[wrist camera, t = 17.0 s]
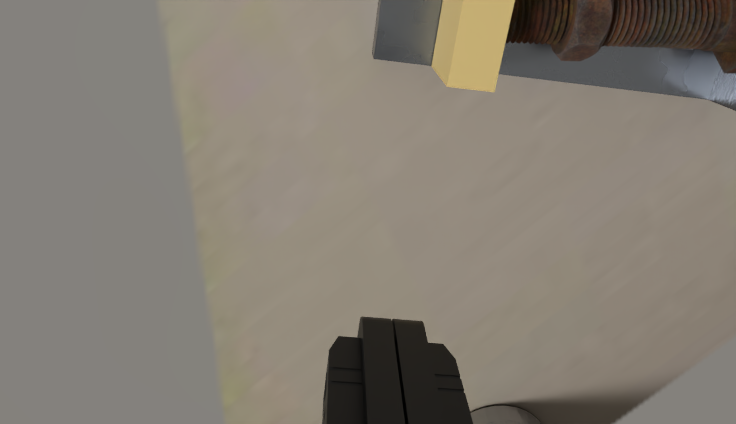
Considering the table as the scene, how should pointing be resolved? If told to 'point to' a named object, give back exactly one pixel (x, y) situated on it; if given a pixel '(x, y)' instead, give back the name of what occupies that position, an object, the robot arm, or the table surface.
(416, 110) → the table surface
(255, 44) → the table surface
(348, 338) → the robot arm
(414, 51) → the plate
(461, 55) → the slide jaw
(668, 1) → the bolt
